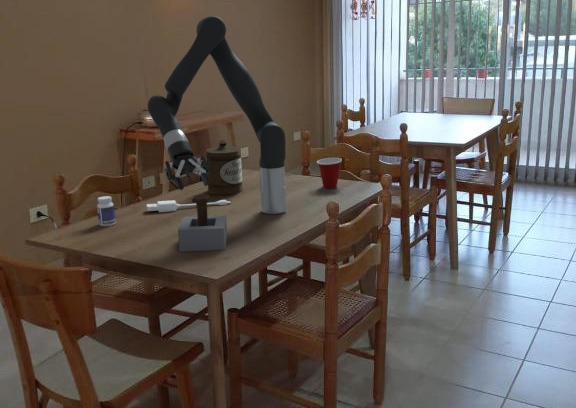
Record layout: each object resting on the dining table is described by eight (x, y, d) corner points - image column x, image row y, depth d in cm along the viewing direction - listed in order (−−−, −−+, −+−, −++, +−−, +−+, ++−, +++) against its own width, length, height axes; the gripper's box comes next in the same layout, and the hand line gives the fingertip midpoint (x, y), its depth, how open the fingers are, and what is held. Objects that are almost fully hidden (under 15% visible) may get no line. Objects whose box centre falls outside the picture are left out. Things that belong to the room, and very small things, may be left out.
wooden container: (229, 196, 249) (226, 144, 243) (201, 193, 256) (197, 142, 251) (249, 188, 262) (247, 138, 256) (221, 185, 269) (218, 136, 263)
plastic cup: (313, 185, 264) (313, 158, 261) (336, 183, 267) (336, 156, 264) (322, 191, 254) (321, 163, 251) (345, 188, 257) (345, 161, 254)
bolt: (208, 244, 190) (205, 199, 186) (193, 244, 191) (190, 198, 187) (214, 238, 196) (211, 194, 192) (199, 238, 197) (196, 193, 193)
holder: (227, 235, 200) (226, 215, 199) (224, 249, 187) (223, 228, 185) (185, 236, 200) (183, 216, 198) (179, 251, 186) (177, 230, 185)
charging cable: (231, 207, 237) (231, 199, 236) (147, 213, 228) (147, 205, 227) (229, 204, 242) (228, 196, 241) (146, 210, 232) (146, 201, 231)
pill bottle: (118, 222, 218) (116, 196, 215) (109, 227, 213) (106, 200, 210) (105, 221, 220) (102, 195, 217) (95, 226, 215) (92, 199, 212)
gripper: (159, 142, 192) (176, 183, 186) (200, 137, 200) (217, 176, 193) (155, 156, 198) (171, 196, 192) (195, 150, 205) (211, 189, 199)
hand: (194, 186), depth 193 cm, fingers open, 8 cm apart
